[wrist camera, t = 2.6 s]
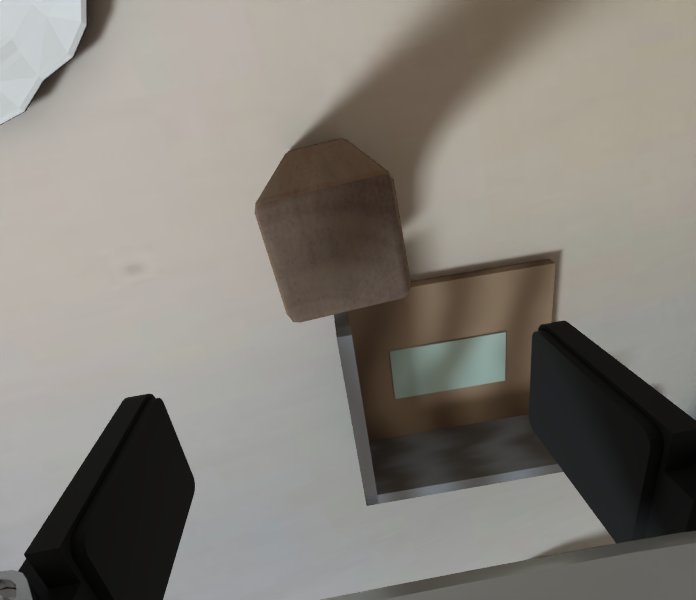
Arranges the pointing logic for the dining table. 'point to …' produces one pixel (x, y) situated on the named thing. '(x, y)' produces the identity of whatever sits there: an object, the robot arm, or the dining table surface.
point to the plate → (35, 47)
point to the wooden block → (333, 231)
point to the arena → (447, 382)
